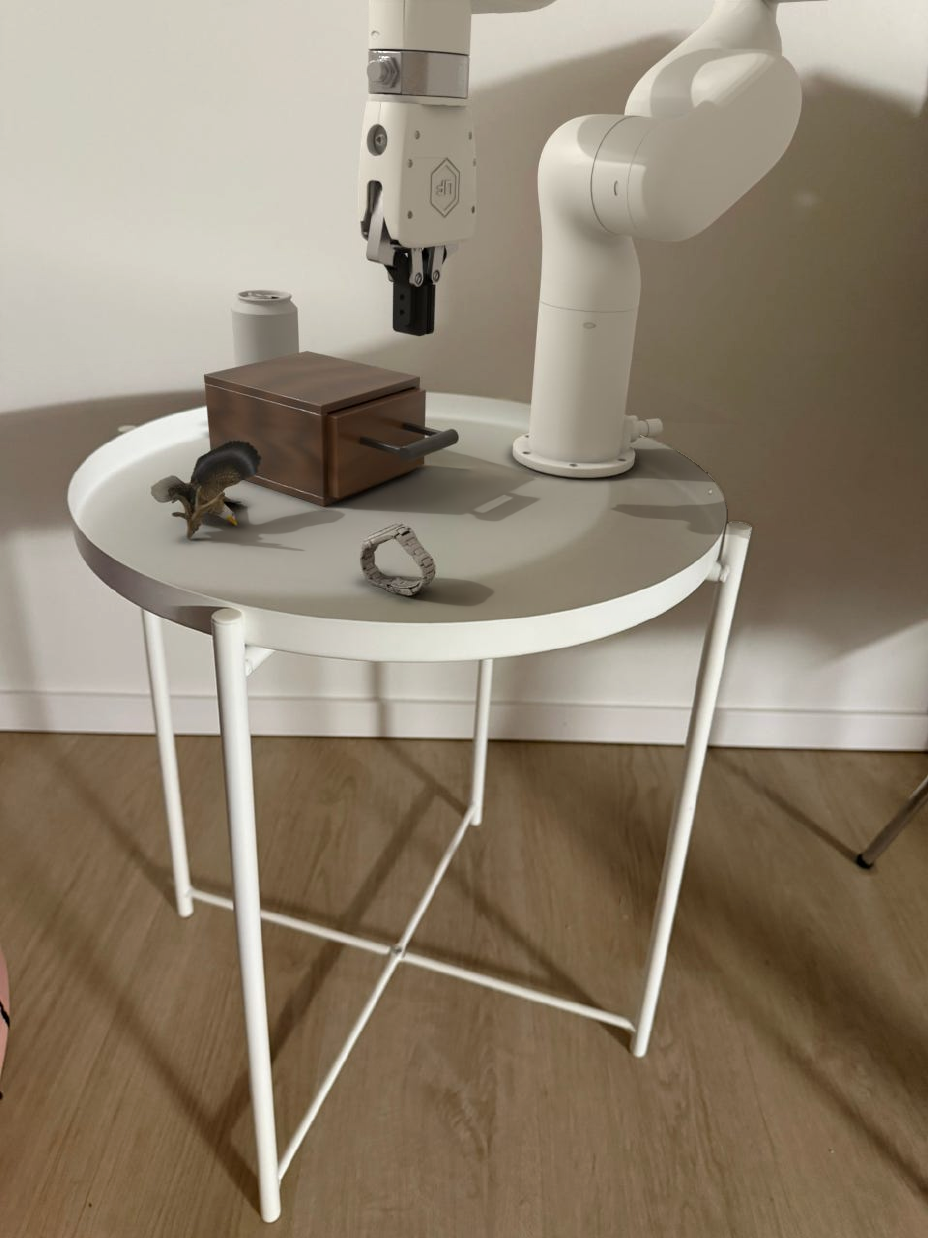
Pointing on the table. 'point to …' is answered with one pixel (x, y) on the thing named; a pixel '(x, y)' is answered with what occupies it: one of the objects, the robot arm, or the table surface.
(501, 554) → the table surface
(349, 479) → the drawer
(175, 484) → the eagle figurine
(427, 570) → the wristwatch
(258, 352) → the can
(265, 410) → the cabinet
